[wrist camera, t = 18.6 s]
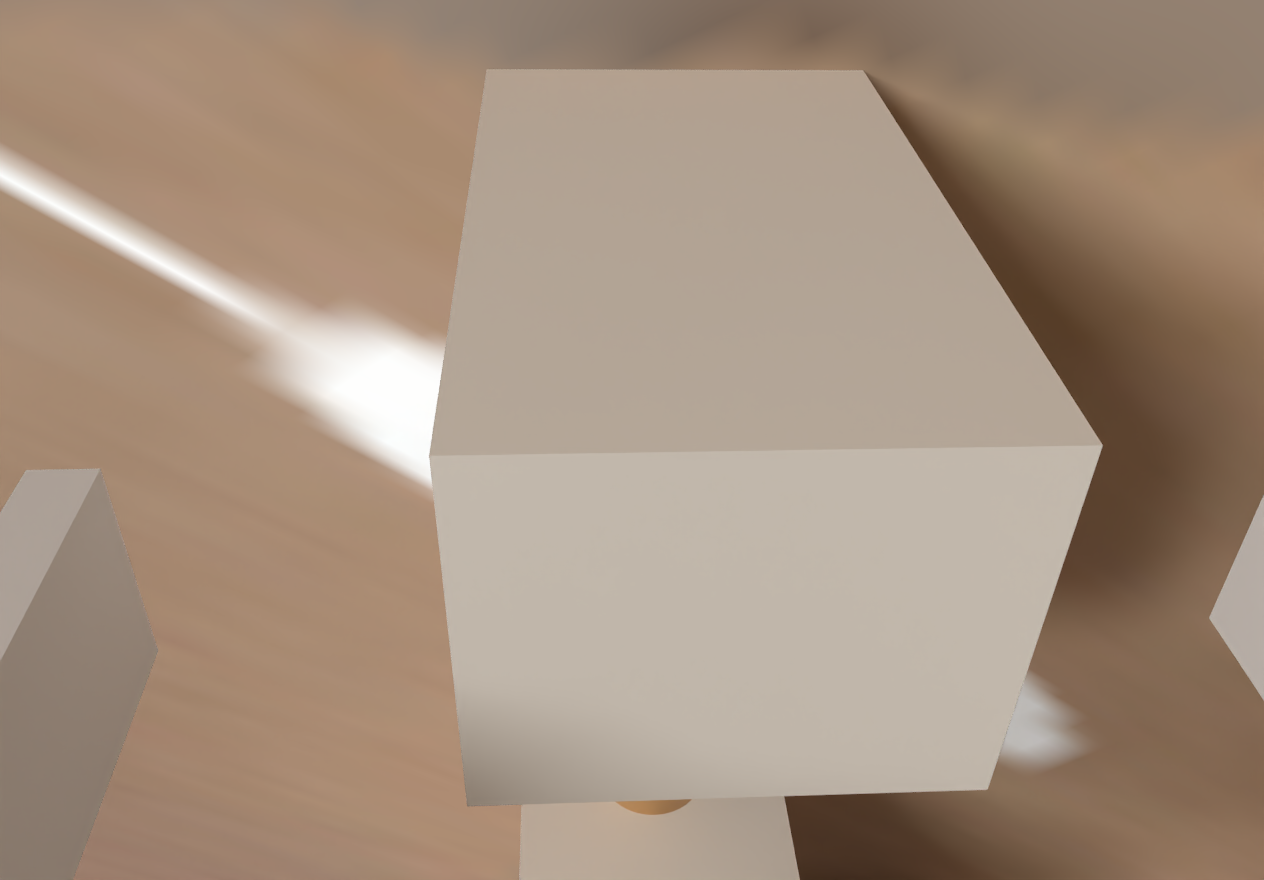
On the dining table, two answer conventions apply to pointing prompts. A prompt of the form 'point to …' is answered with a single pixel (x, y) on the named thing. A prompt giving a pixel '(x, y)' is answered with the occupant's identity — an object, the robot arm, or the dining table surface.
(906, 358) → the white block dumbbell
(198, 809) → the dining table surface
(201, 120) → the dining table surface
